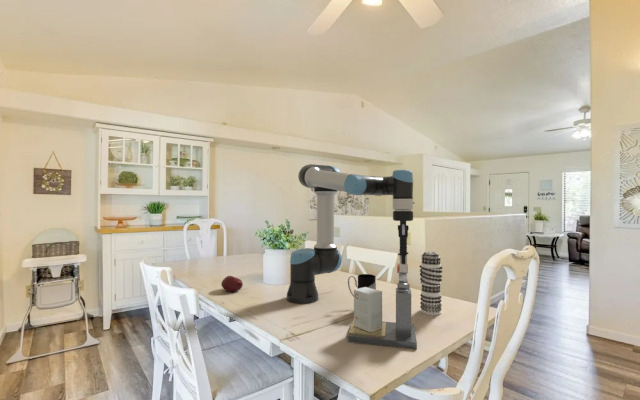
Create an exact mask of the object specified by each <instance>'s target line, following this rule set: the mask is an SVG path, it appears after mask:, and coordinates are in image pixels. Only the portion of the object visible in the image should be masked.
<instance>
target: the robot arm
mask: <svg viewBox="0 0 640 400" xmlns="http://www.w3.org/2000/svg"><path fill="white" fill-rule="evenodd" d="M413 177H414V175H413V171H412V170H410V169H396V170H395V169H394V170H393V172H392V175H391V176H374V175H360V174H353V173H347V172H341V171H340V170H339V169H338V168H337V167H336V166H334V165H333V166H331V165H328V164H327V165H323V164H315V163H313V164H312V163H311V164H305V165H304V166H302V167H301V168H300V169H299V172H298V177H297V178H298V181H299V183H300V184H301V185H302V186H303V187H305V188H308V189H313V193H314V194H315V195H316V244H314V246H313V247H310V248H308V247H307V248H299V249H296V250H294V251H292V252H291V253H290V258H289V259H290V260H289V264H290V269H289V270H290V273H289V274H290V275H289V277H290V280H289V281H290V282H289V286H288V290H287V292H286V300H287V301H288V302H290V303H293V304H294V303H295V304H309V303H315V302H316V301H318V300H319V292H318V290H317V286H316V281H315V279H316V278H315V277H316V275H317V276H318V275H323V274H331V273H333V272H337V270H339V269H340V267H341V265H342V261H343V256H342V254H341V251H340V250H339V249H338V246H337V244H336V243H335V195H336V194H337V193H338V191H339V192H345V193H347V194H348V195H352V196H377V197H378V196H379V197H381V196H392V210H393V211H392V220H393V221H395V222H399V224H397V231H398V232H397V233H398V238H399V253H397V256H399V264H400V272H404V273H407V264H408V255H409V252H408V237H409V225H408V224H407V222H412V221H413V220H414V212H413V209H414V205H415V201H413V200H414V196H413V195H414V178H413ZM407 274H408V273H407Z"/></svg>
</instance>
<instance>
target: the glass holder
mask: <svg viewBox="0 0 640 400" xmlns="http://www.w3.org/2000/svg"><path fill="white" fill-rule="evenodd" d="M376 277H377V276H376V275H374V274H369V273H364V274H363V273H361V274H358V275H357V278H356V277H355V276H353V275H350V276H349V277H348V279H347V285H348V286H347V287H348V290H349V293H350V294H351V296H353V298H354V292H353V291H352V289H351V286H350V279H351V278H353V279H354V282H355V283H354V285H355V287H356V289H358V288H363V287H368V288H371V289H375V290H377V283H376Z"/></svg>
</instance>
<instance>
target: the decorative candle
mask: <svg viewBox="0 0 640 400" xmlns="http://www.w3.org/2000/svg"><path fill="white" fill-rule="evenodd" d="M420 257H421V265H419V268H420V270H419V272H420V273H419V276H420V279H419V280H420V285H421V289H420V290H421V293H420V295H419V296H420V299H419V300H420V306H419V307H420V312H421V313H423V314H425V315H431V316H438V315H441V314H442V310H443V309H442V306H443V305H442V303H441V302H442V295H441V287H442V283H441V282H442V281H443V279H442V278H443V275H441V274H442V273H443V270H442V269H443V266H441V265H442V264H441V257H442V256H441V255H440V254H439V253H438V252H435V251H424V252H423V253H422V254H421V255H420Z"/></svg>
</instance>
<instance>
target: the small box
mask: <svg viewBox="0 0 640 400" xmlns="http://www.w3.org/2000/svg"><path fill="white" fill-rule="evenodd" d="M353 295H354V297H353V320H354V326H356V327H358V328H360V329H363V330H365V331H368V332H370V333H371V332H374V331H376V330H379V329H381V328H382V321H383V291H382V290H379V289H376V290H375V289H371V288H368V287H363V288H358V289H357V288H354V289H353Z"/></svg>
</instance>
